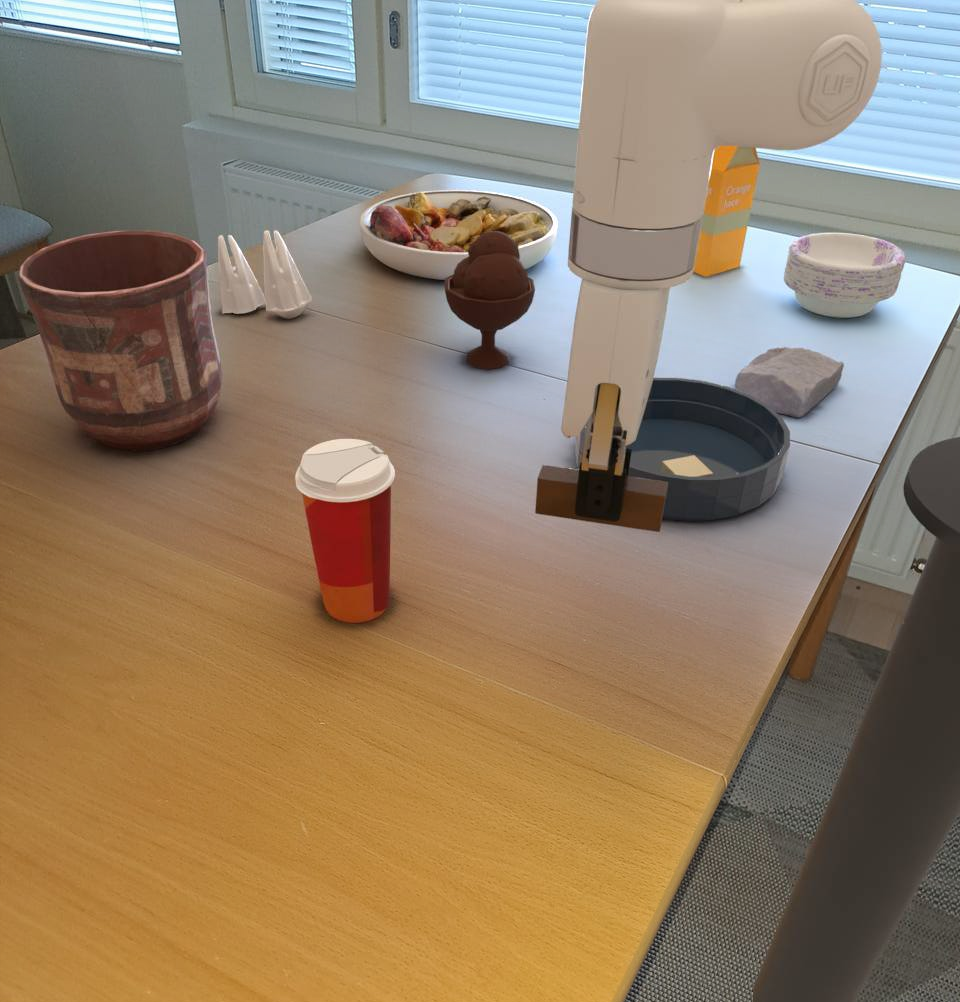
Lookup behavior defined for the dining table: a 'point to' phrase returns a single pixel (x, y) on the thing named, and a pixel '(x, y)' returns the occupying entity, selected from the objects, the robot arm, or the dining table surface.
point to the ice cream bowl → (490, 293)
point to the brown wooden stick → (637, 512)
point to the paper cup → (349, 525)
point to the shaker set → (280, 280)
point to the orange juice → (726, 209)
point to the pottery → (127, 334)
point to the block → (686, 467)
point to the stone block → (790, 379)
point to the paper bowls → (842, 272)
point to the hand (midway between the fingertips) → (600, 504)
